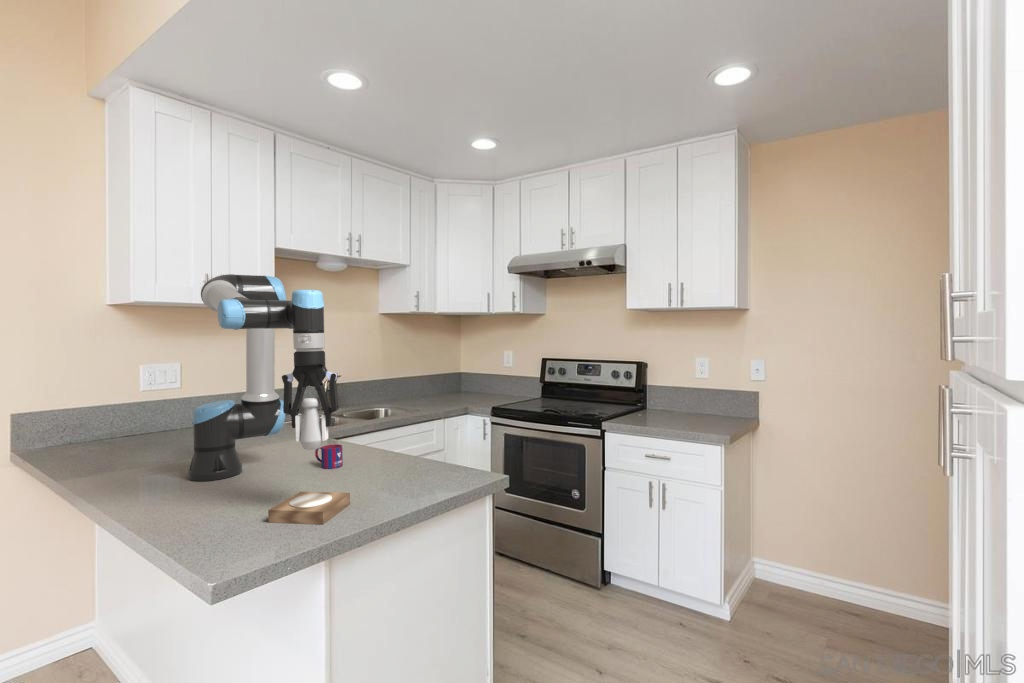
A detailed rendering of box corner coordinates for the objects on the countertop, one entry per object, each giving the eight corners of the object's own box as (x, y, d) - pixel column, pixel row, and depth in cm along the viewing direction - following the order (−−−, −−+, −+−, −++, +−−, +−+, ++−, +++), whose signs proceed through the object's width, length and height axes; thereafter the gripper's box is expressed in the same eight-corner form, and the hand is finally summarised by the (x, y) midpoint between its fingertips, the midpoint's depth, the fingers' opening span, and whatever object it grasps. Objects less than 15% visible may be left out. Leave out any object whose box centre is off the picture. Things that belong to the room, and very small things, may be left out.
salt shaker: (329, 446, 133) (327, 396, 133) (311, 451, 128) (310, 399, 128) (313, 444, 136) (311, 396, 136) (295, 449, 131) (293, 398, 131)
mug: (332, 470, 169) (331, 449, 169) (310, 467, 173) (309, 446, 173) (346, 465, 175) (346, 445, 175) (325, 462, 179) (324, 442, 179)
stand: (268, 522, 123) (268, 508, 123) (300, 502, 137) (300, 490, 137) (323, 524, 121) (322, 510, 121) (350, 504, 135) (349, 491, 135)
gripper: (265, 351, 127) (268, 444, 127) (343, 349, 129) (345, 441, 129) (277, 350, 135) (280, 438, 135) (350, 348, 136) (353, 435, 136)
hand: (312, 439), depth 132 cm, fingers closed on salt shaker, 6 cm apart
